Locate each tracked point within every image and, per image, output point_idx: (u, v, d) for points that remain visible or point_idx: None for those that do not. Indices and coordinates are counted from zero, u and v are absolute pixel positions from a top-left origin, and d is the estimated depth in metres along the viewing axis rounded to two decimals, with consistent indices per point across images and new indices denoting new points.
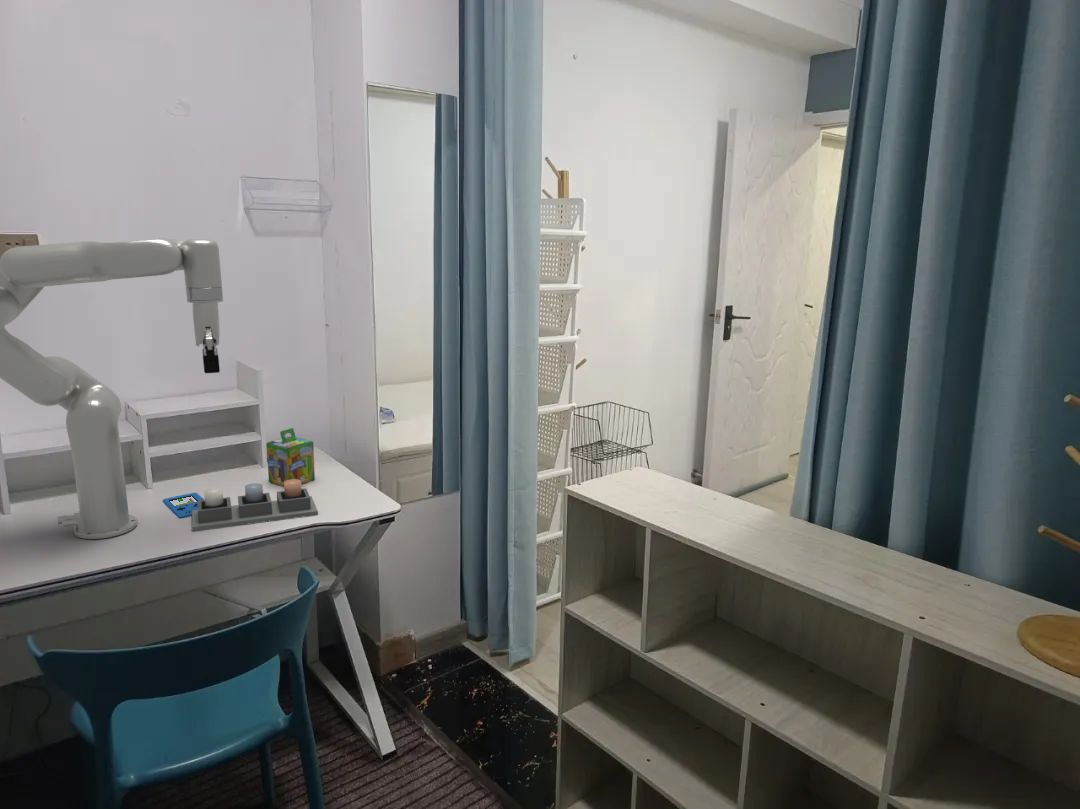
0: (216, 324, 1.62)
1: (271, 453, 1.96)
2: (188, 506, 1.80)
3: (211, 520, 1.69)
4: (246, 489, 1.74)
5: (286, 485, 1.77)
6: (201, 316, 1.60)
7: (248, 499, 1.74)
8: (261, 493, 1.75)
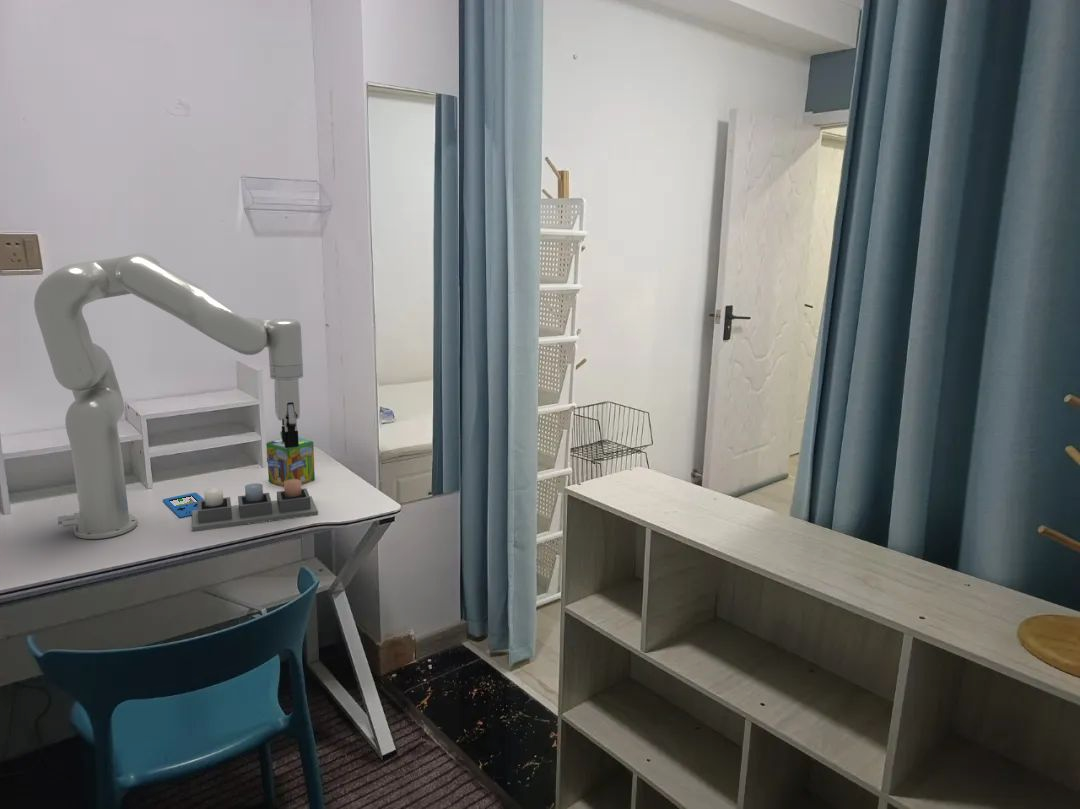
0: (298, 399, 1.71)
1: (271, 453, 1.96)
2: (188, 506, 1.80)
3: (211, 520, 1.69)
4: (246, 489, 1.74)
5: (286, 485, 1.77)
6: (284, 393, 1.69)
7: (248, 499, 1.74)
8: (261, 493, 1.75)
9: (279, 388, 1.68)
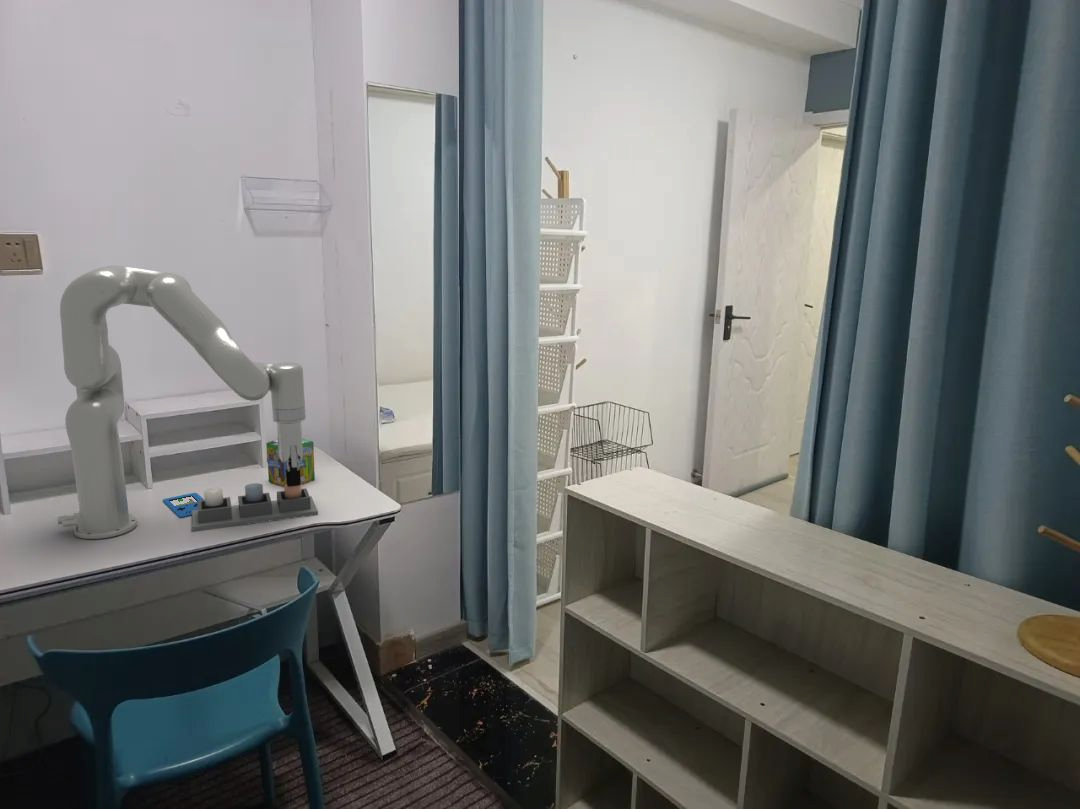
0: (300, 442, 1.73)
1: (271, 453, 1.96)
2: (188, 506, 1.80)
3: (211, 520, 1.69)
4: (246, 489, 1.74)
5: (286, 488, 1.77)
6: (287, 436, 1.71)
7: (248, 499, 1.74)
8: (261, 493, 1.75)
9: (282, 431, 1.71)
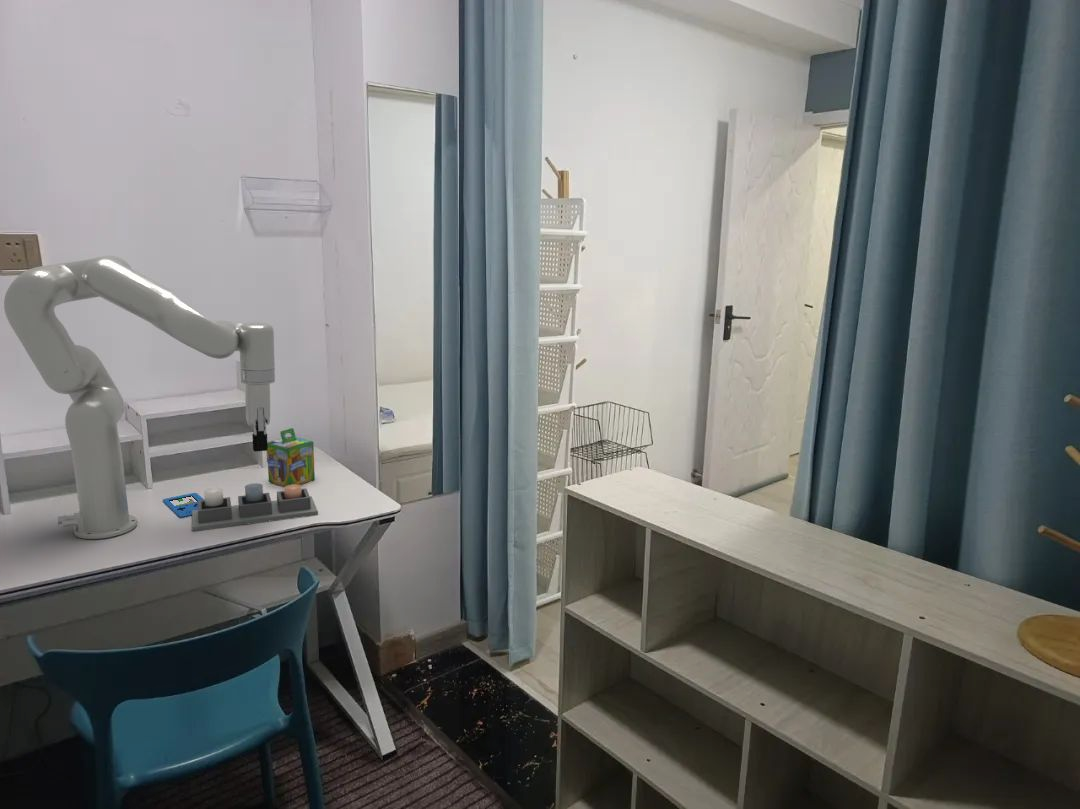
0: (268, 405, 1.68)
1: (271, 453, 1.96)
2: (188, 506, 1.80)
3: (211, 520, 1.69)
4: (246, 489, 1.74)
5: (286, 490, 1.78)
6: (255, 398, 1.66)
7: (248, 499, 1.74)
8: (261, 493, 1.75)
9: (249, 393, 1.66)
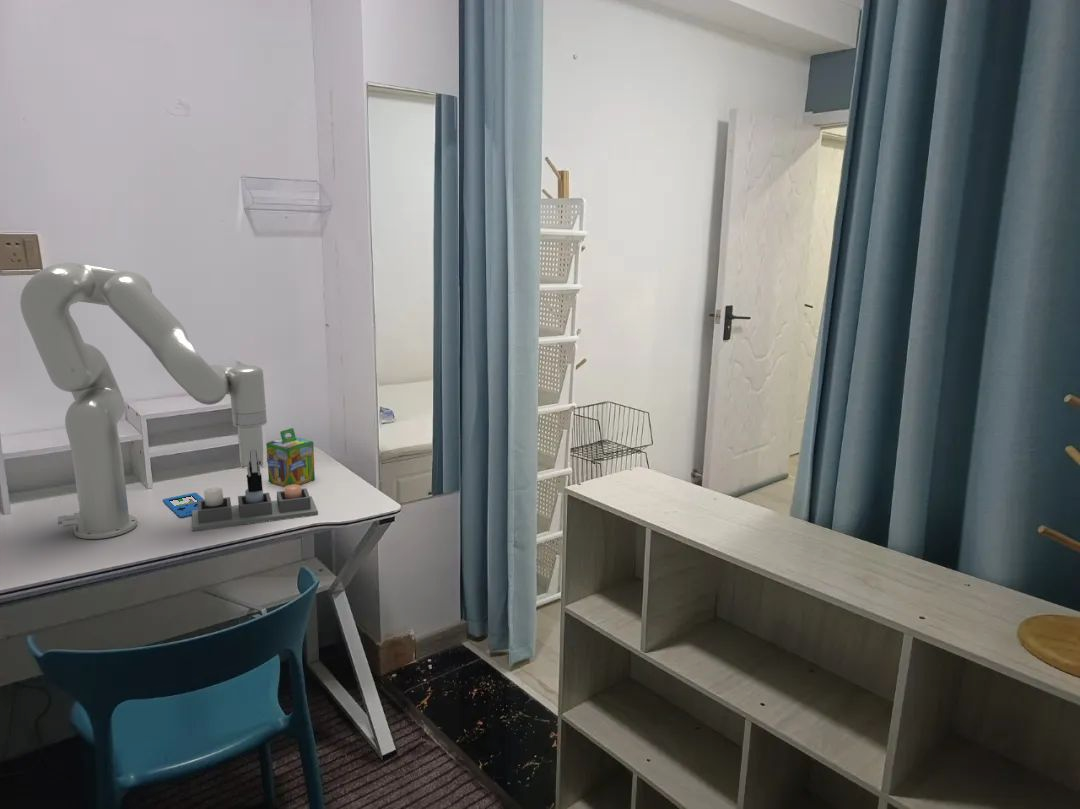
0: (261, 447, 1.69)
1: (271, 453, 1.96)
2: (188, 506, 1.80)
3: (211, 520, 1.69)
4: (246, 494, 1.74)
5: (286, 490, 1.78)
6: (247, 440, 1.68)
7: None
8: (261, 497, 1.76)
9: (241, 436, 1.67)
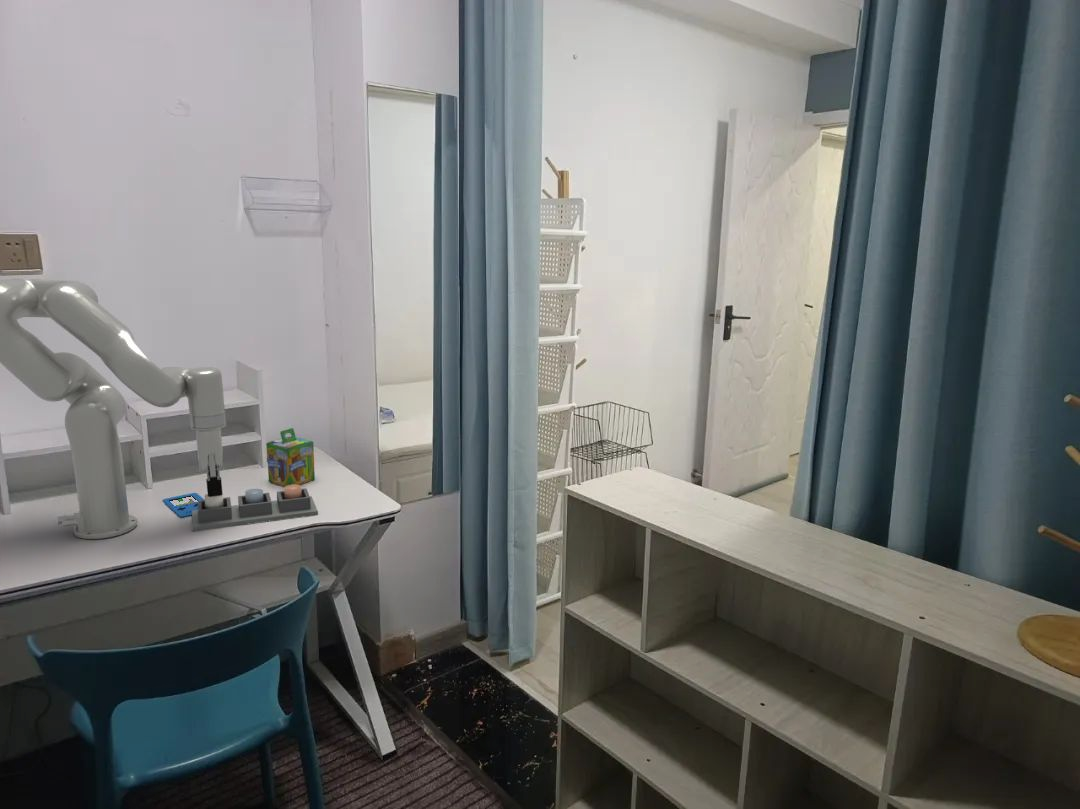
0: (219, 450, 1.66)
1: (271, 453, 1.96)
2: (188, 506, 1.80)
3: (211, 520, 1.69)
4: (246, 495, 1.74)
5: (286, 490, 1.78)
6: (204, 444, 1.64)
7: None
8: (261, 498, 1.76)
9: (199, 440, 1.64)
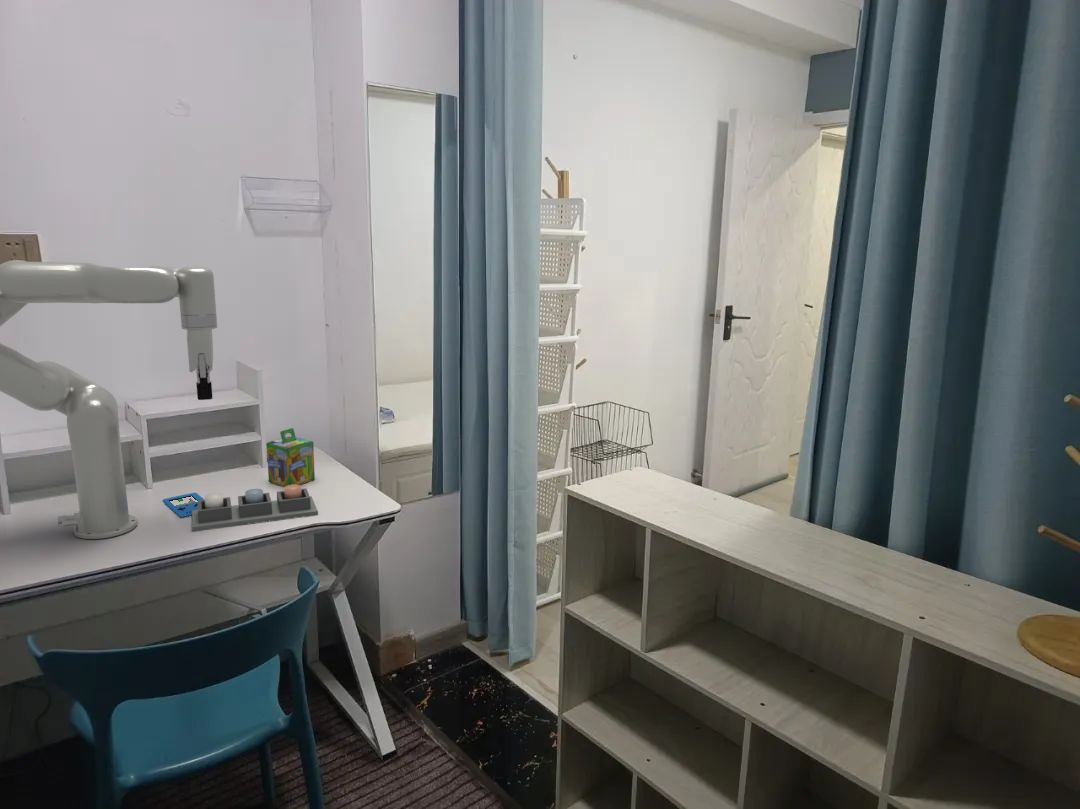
0: (209, 351, 1.65)
1: (271, 453, 1.96)
2: (188, 506, 1.80)
3: (211, 520, 1.69)
4: (246, 495, 1.74)
5: (286, 490, 1.78)
6: (195, 343, 1.63)
7: None
8: (261, 498, 1.76)
9: (189, 338, 1.63)
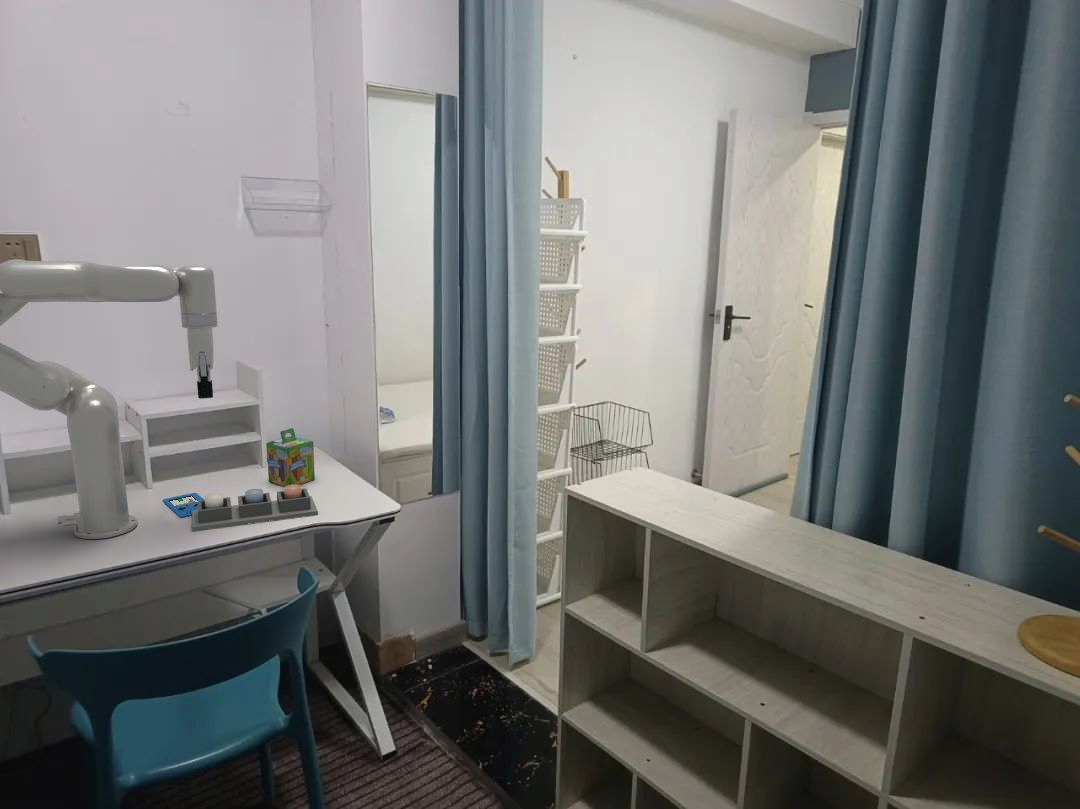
0: (210, 349, 1.65)
1: (271, 453, 1.96)
2: (188, 506, 1.80)
3: (211, 520, 1.69)
4: (246, 495, 1.74)
5: (286, 490, 1.78)
6: (195, 341, 1.63)
7: None
8: (261, 498, 1.76)
9: (190, 337, 1.63)
